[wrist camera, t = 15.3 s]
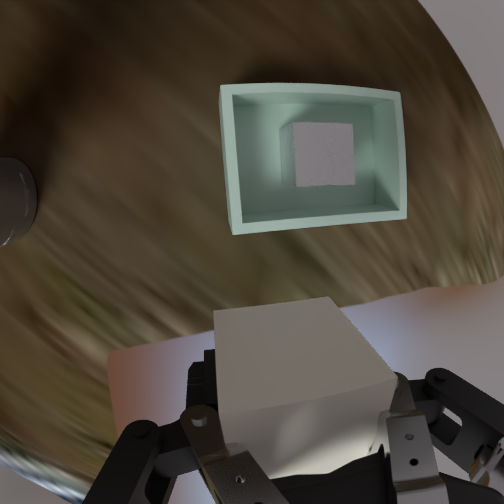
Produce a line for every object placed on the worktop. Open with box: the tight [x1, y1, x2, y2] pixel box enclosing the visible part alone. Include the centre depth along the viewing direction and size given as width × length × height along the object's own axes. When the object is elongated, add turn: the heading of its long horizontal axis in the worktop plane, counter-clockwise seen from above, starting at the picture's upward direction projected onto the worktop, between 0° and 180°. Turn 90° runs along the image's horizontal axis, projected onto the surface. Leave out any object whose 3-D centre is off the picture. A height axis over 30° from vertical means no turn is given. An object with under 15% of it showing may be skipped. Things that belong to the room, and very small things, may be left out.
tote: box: [219, 83, 407, 235], centre depth 25 cm, size 16×12×6 cm
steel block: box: [279, 122, 355, 187], centre depth 25 cm, size 5×5×5 cm
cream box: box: [214, 296, 398, 479], centre depth 11 cm, size 5×5×6 cm
